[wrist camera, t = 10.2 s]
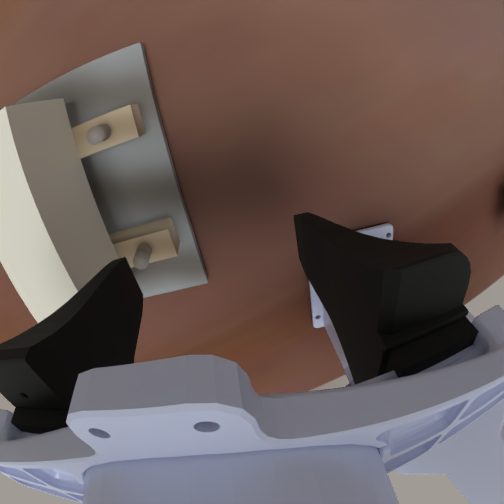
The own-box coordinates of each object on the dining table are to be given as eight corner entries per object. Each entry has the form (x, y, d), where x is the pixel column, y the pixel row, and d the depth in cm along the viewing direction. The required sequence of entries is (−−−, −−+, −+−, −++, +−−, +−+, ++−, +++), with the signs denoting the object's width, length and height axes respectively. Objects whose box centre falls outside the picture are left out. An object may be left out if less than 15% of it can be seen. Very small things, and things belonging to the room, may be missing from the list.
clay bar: (134, 291, 20) (118, 355, 15) (89, 301, 20) (66, 361, 15) (63, 98, 13) (5, 106, 8) (16, 124, 13) (-44, 145, 8)
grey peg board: (207, 275, 24) (209, 312, 20) (67, 307, 23) (51, 341, 20) (143, 44, 14) (125, 31, 11) (-11, 124, 14) (-46, 136, 10)
